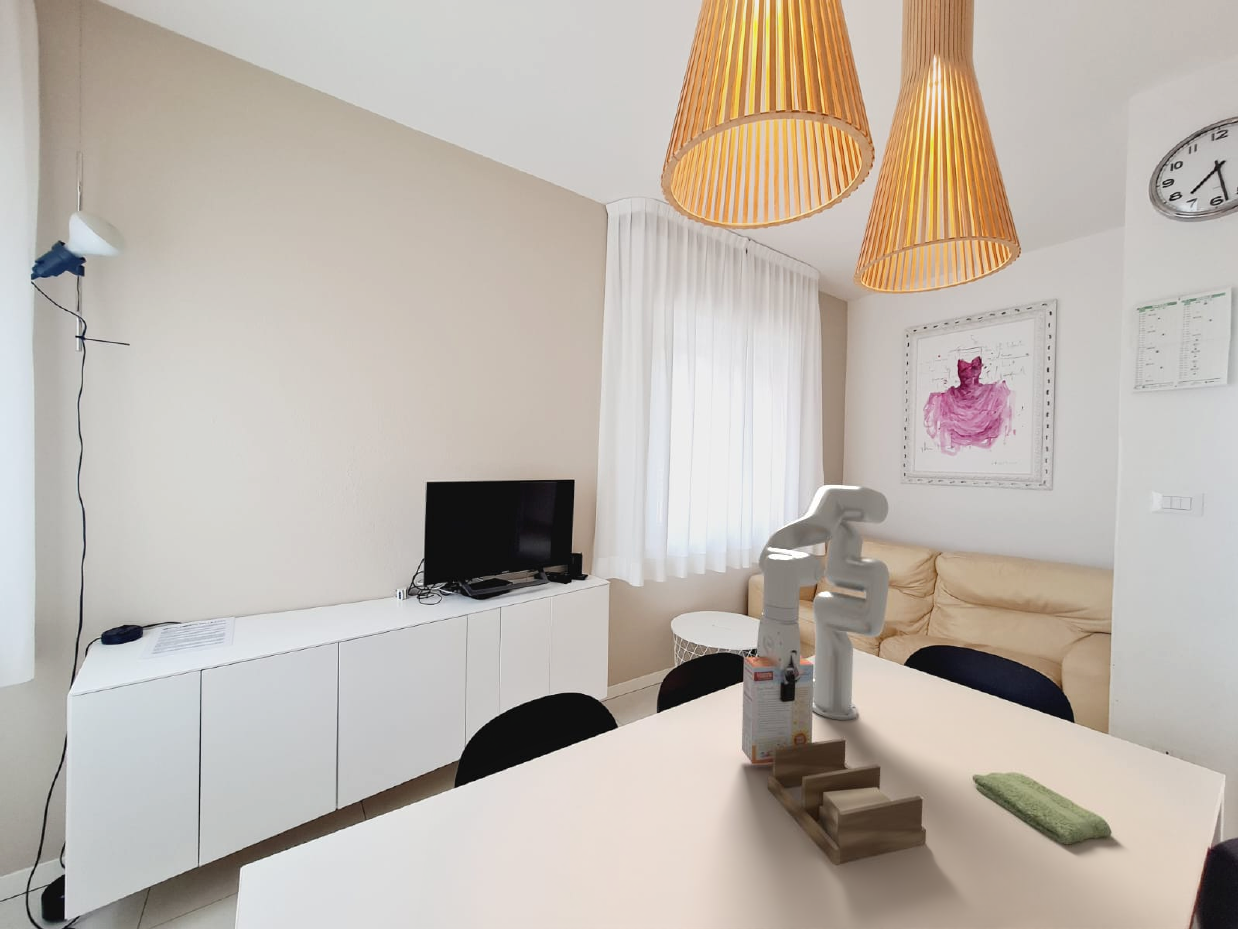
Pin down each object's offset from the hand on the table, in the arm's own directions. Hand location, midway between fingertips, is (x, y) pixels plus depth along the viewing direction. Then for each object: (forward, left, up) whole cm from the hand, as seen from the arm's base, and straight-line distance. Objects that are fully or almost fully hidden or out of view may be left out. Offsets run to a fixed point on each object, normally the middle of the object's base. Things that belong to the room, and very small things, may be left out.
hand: (777, 692), depth 106 cm
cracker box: (0, 0, -14) cm, 14 cm away
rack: (+16, +3, -16) cm, 22 cm away
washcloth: (+24, +42, -16) cm, 51 cm away
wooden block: (+21, +3, -16) cm, 27 cm away
